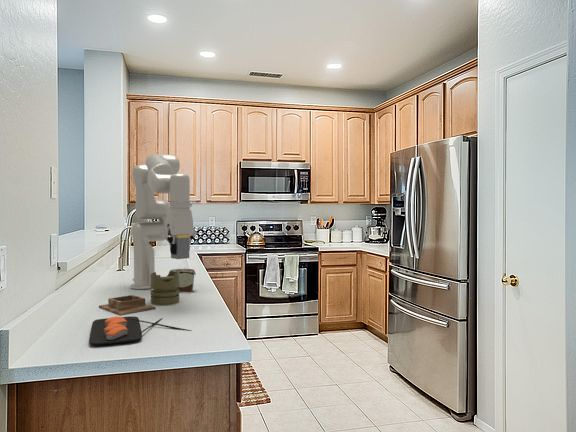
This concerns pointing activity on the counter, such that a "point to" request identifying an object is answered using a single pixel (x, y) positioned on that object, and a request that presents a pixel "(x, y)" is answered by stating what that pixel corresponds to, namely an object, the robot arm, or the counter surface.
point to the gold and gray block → (181, 247)
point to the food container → (185, 279)
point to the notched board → (126, 305)
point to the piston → (165, 289)
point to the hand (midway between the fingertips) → (180, 253)
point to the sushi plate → (119, 330)
